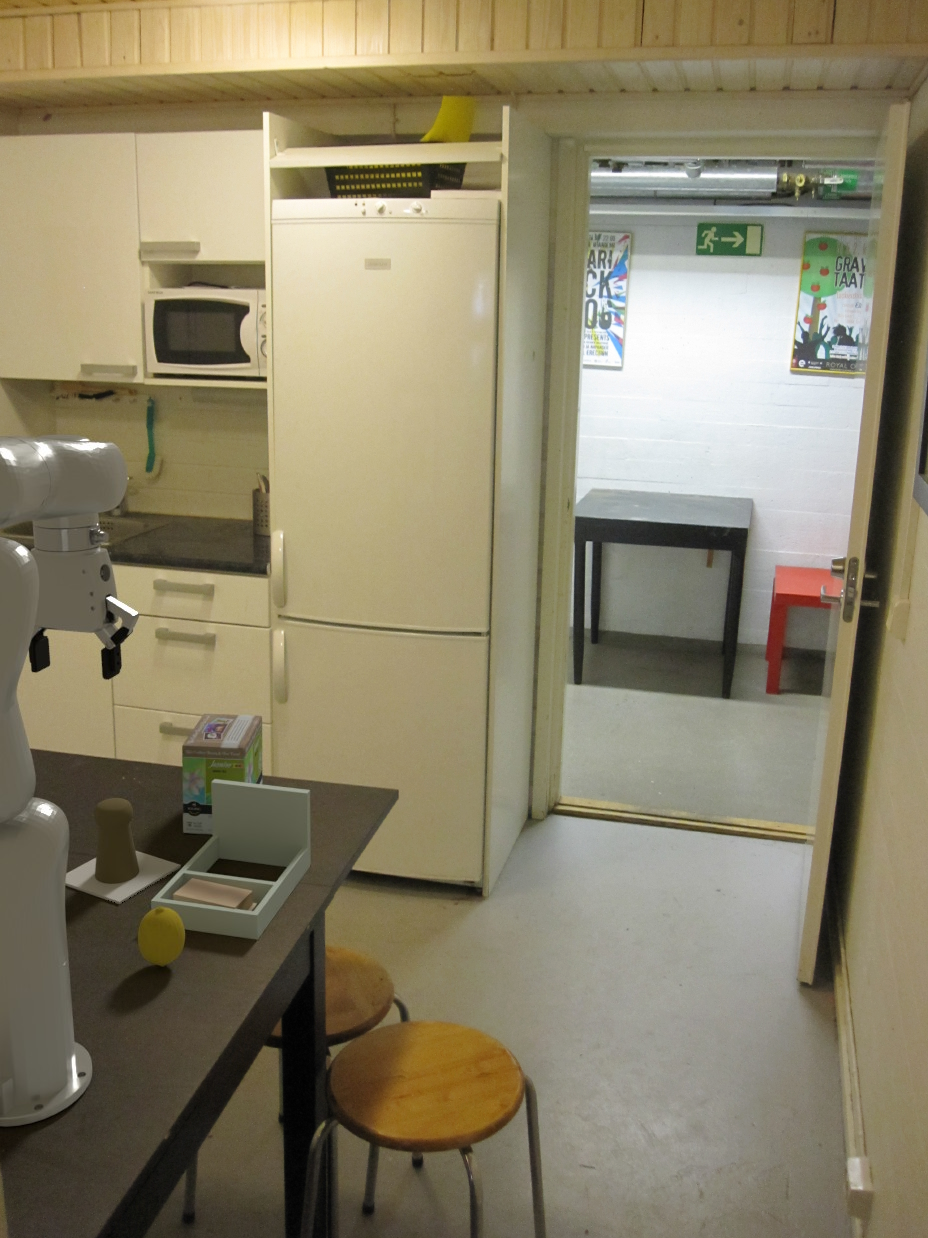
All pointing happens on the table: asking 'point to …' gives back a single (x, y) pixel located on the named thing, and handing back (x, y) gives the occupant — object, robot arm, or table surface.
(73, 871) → the mat
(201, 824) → the tea box
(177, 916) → the lemon
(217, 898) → the offcut upper
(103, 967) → the table surface
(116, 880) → the cork
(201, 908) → the rack
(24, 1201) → the table surface
